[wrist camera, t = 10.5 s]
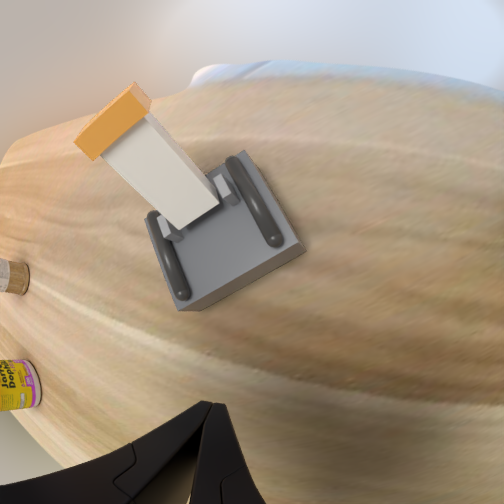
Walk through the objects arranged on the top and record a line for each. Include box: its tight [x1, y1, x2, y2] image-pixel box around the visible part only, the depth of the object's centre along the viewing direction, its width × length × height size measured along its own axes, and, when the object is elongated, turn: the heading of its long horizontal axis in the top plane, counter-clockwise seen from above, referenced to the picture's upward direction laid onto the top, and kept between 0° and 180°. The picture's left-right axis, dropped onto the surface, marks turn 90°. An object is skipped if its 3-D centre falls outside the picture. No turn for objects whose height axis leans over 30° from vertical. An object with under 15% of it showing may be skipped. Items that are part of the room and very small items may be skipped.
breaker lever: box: [74, 82, 219, 230], centre depth 16 cm, size 2×4×9 cm, turn 118°
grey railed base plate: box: [144, 150, 306, 311], centre depth 20 cm, size 8×9×5 cm
